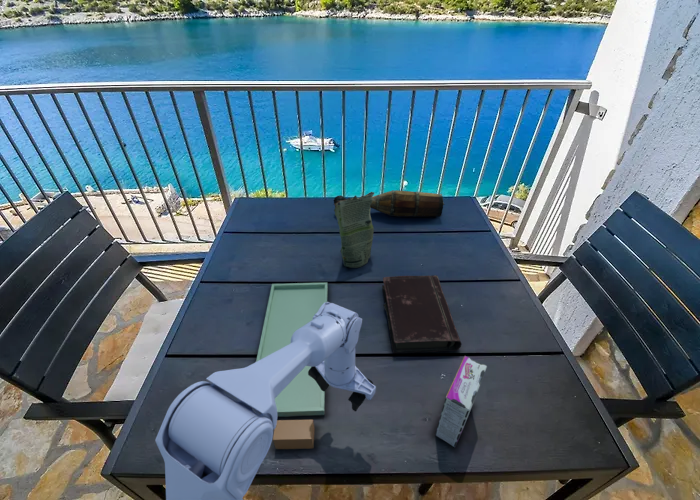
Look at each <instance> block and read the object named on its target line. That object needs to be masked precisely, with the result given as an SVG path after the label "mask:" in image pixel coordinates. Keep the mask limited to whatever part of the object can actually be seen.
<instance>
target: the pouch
mask: <svg viewBox="0 0 700 500" xmlns="http://www.w3.org/2000/svg"><path fill="white" fill-rule="evenodd" d="M373 196H375V191H374V192H373V191H370V192H368V193H367V194H365V195H361V196H360V197H358V196H357V195H354V196H353V197H351V198H352V199H351V200H342V201H339V202H338V203H336V204H334V203H333V204H334V209H333V211H334V216H335V217H336V220H337V225H338V228H339V230H338V232H339V236H340V243H341V244H340V245H341V248H340V251H339V252H340V254H341V258H342V261H343V266H344V267H347V268H353V269H354V268H361V267H363V266H365V265H367V264H368V261H369V259H370V258H371V255H372V254H371V253H372V247H373V241H374V232H375V229H374V225H373V221H372V217H371V208H370V205H371V203H372V199H373ZM357 198H359V199H357Z"/></svg>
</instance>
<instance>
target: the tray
mask: <svg viewBox="0 0 700 500" xmlns="http://www.w3.org/2000/svg"><path fill="white" fill-rule="evenodd" d="M328 286H329V285H328V282H297V283H296V282H295V283H293V282H291V283H272V284H271V287H270V291H269V297H268V301H267V306H266V310H265V315H264V321H263V325H262V330H261V336H260V340H259V345H258V350H257V355H256V360H255V362H257V361H259V360H261V359H262V358H264V357H266V356H268V355H270V354H272V353H274V352H276V351H277V350H279V349H281V348H283V347H285V346H287V345H289V344H290V343H291V337H292V335H293V333H294V332H295V331H296V330H298V329H299V328H301V327H302V326H304V325H305V324H307V323H309V322H310V321H312V319H313V316H314V315H315V314H316V313H317V312H318V310H319V309H320V307H321V306H322V305H323V303H326V302H328V289H329V288H328ZM310 368H311V367H310V366H305V367H304V368H303V369H302V370H301V372H300V373H299V374H298V375H297V376H296V377H295V378H294V379H293V380H292V381H291V382H290V383H289V384H288V385H287V386H286V387H285V388H284V389H283V390H282V391H281V393H280V394H279V395H278V396H277V397H276V398H275V403H276V407H277V418H280V417H281V418H282V417H304V416H305V417H307V416H308V417H309V416H325V408H326V407H325V406H326V399H325V398H326V390H325V391H322V390H321V388H320V387H319V385H318V384H317V382H316V381H315V380H314V379H313V378H312V377H310V376H309V375H308V371H309V369H310Z"/></svg>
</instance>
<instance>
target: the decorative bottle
mask: <svg viewBox="0 0 700 500" xmlns="http://www.w3.org/2000/svg"><path fill="white" fill-rule="evenodd" d="M352 198H353V197H347V198H346V197H345V196H344V195H337V196H335V197H334V198H333V204H332V206H333V205H334V204H336V203H338V202H339V201H342V200H351V199H352ZM359 198H360V197H357V199H359ZM444 205H446V204H445V202H444V196H443V193H433V192H424V191H410V190H409V191H408V190H398V189H397V190H394V189H393V190H392V189H391V191H385V192H383V193H379V194H377V195H373V199H372V203H371V205H370V209H371V210H372V209H373V210H375V211H378V212H380V213H382V214H385V215H387V216H390V217H416V218H417V217H422V218H423V217H424V218H425V217H441V216H442V215H443V210H444ZM334 206H335V205H334Z"/></svg>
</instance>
